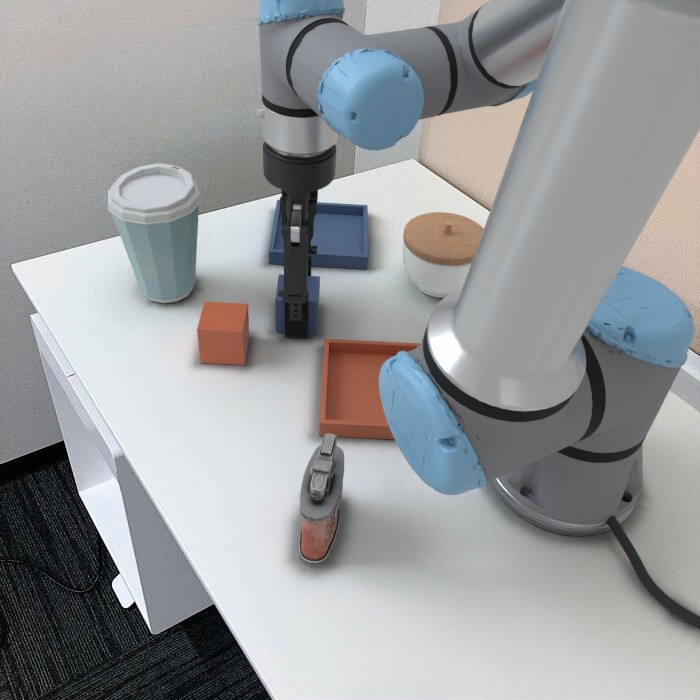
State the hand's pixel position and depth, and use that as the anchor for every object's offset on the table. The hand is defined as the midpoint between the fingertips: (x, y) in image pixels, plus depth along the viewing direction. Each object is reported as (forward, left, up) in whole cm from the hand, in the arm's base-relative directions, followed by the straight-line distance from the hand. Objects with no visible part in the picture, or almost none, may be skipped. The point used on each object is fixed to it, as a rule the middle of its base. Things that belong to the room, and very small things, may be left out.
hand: (298, 317), depth 90 cm
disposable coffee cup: (+5, +17, 0) cm, 18 cm away
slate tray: (+18, -2, 0) cm, 18 cm away
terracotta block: (-6, +8, 0) cm, 10 cm away
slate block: (0, 0, 0) cm, 0 cm away
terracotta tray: (-12, -10, 0) cm, 16 cm away
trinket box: (+9, -18, 0) cm, 20 cm away
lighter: (-30, -4, 0) cm, 30 cm away
